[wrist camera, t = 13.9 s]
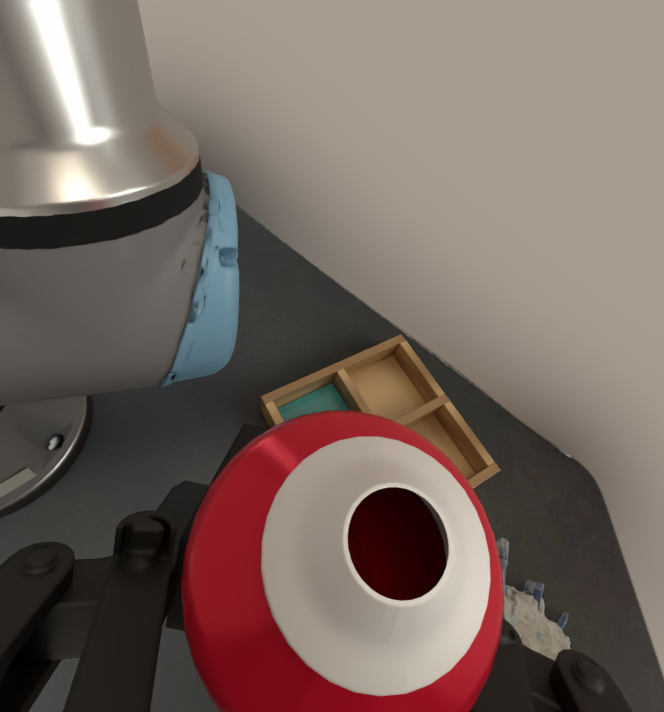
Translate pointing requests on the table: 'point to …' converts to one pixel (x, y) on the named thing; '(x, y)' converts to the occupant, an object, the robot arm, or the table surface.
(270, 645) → the bottle
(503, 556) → the crumpled cloth bundle
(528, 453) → the table surface
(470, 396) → the table surface
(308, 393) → the wooden divided tray
